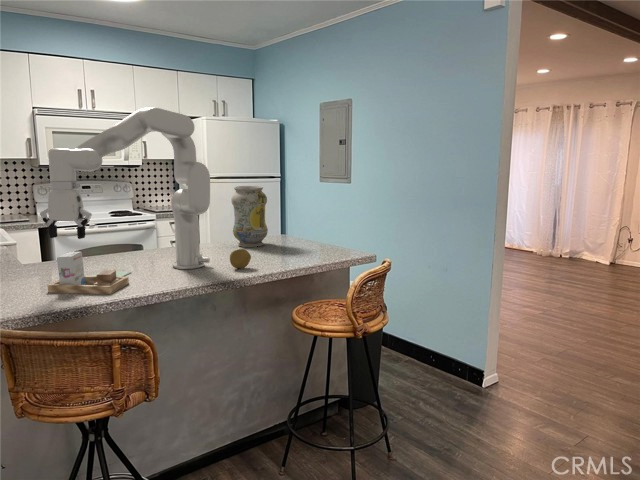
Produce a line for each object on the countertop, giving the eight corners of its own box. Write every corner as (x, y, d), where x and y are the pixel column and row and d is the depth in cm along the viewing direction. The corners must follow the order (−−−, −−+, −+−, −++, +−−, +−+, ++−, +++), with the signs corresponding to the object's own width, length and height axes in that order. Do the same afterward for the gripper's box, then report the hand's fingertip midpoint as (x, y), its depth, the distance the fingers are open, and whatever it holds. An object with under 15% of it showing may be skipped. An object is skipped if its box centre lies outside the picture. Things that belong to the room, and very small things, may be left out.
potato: (227, 269, 186) (226, 250, 184) (237, 265, 193) (236, 246, 191) (242, 271, 183) (242, 251, 182) (252, 267, 190) (251, 248, 189)
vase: (251, 249, 226) (250, 188, 221) (225, 245, 236) (223, 186, 231) (274, 244, 241) (274, 186, 236) (248, 240, 251) (247, 185, 246)
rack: (128, 283, 164) (128, 276, 164) (110, 294, 151) (109, 286, 151) (71, 282, 165) (70, 275, 165) (48, 292, 153) (47, 285, 152)
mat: (131, 272, 180) (131, 271, 180) (113, 282, 166) (112, 280, 166) (101, 271, 181) (101, 270, 180) (80, 281, 167) (80, 280, 167)
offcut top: (116, 278, 161) (115, 270, 160) (111, 283, 155) (110, 274, 154) (103, 278, 160) (102, 270, 160) (97, 283, 154) (96, 274, 154)
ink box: (70, 284, 163) (67, 251, 161) (85, 284, 163) (83, 251, 161) (59, 291, 154) (56, 256, 152) (75, 290, 155) (72, 256, 153)
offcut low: (119, 287, 161) (119, 278, 161) (109, 292, 154) (108, 284, 154) (105, 286, 162) (105, 278, 161) (94, 292, 155) (94, 283, 154)
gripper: (95, 186, 156) (98, 236, 159) (46, 185, 157) (50, 235, 160) (82, 187, 149) (85, 240, 151) (30, 186, 150) (35, 238, 152)
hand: (67, 237), depth 156 cm, fingers open, 9 cm apart
